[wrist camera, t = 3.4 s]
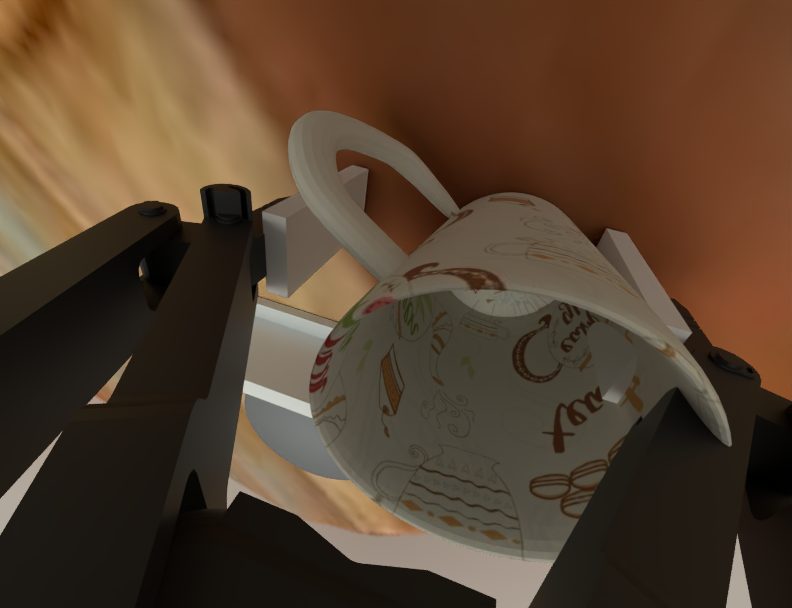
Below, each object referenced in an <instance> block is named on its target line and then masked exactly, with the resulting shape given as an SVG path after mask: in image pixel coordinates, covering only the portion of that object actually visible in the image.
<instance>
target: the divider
mask: <svg viewBox="0 0 792 608" xmlns="http://www.w3.org/2000/svg"><path fill="white" fill-rule="evenodd" d="M337 323H338V322H335V321H332V320H329V319H326V318H322V317H319V316H316V315H313V314H310V313H307V312H304V311H301V310H298V309H295V308H292V307H288V306H285V305H282V304H279V303H276V302H273V301H270V300H267V299H264V298H261V297H258V299H257V305H256V312H255V318H254V324H253V330H252V336H251V342H250V349H249V355H248V361H247V367H246V373H245V380H244V386H243V393H246V394H249V395H251V396H254V397H257V398H259V399H262V400H265V401H267V402H270V403H273V404H275V405H278V406H281V407H283V408H286V409H289V410H291V411H294V412H297V413H299V414H302V415H305V416H307V417H310V418H313V417H312V414H311V409H310V402H309V384H310V376H311V372H312V369H313V365H314V362H315V360H316V357H317V354H318V352H319V350H320V348H321V346H322V344H323V343H324V341H325V340H326V338H327V336H328V335H329V334H330V332H331V331H332V330H333V328H334V327H335V326H336V325H337Z"/></svg>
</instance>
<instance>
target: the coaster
mask: <svg viewBox="0 0 792 608" xmlns="http://www.w3.org/2000/svg"><path fill="white" fill-rule="evenodd" d="M245 410H246V414H247V417H248V419H249V421H250V423H251V425H252V427H253V428H254V430H255V431H256V433H257V434H258V435H259V437H260V438H261V439H262V440H263V441H264V442H265V443H266V444H267V445H268V446H269V447H270V448H271V449H272V450H273V451H274V452H276V453H277V454H278V455H279V456H281V457H282V458H284V459H285V460H287V461H288V462H290V463H292V464H293V465H295V466H297V467H299V468H301V469H303V470H305V471H307V472H310V473H313V474H315V475H318V476H322V477H326V478H331V479H338V480H349V479H348V478H347V477H346V475H345V474H344V473H343V472H342V471H341V470H340V469H339V467H338V466H337V465H336V463H335V462H334V461H333V459H332V458H331V456H330V455H329V453H328V452H327V450H326V448H325V446H324V445H323V443H322V441H321V439H320V437H319V435H318V432H317V430H316V427H315V424H314V421H313V418H310V417H307V416H305V415H302V414H299V413H297V412H294V411H291V410H289V409H286V408H283V407H281V406H278V405H275V404H273V403H270V402H267V401H265V400H262V399H259V398H257V397H254V396H251V395H249V394H246V395H245Z"/></svg>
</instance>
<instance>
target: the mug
mask: <svg viewBox="0 0 792 608" xmlns="http://www.w3.org/2000/svg"><path fill="white" fill-rule="evenodd" d="M339 150H351V151H355V152H359V153H362V154H365V155H367V156H370V157H373V158H375V159H378V160H380V161H382V162H385V163H387V164H388V165H390V166H391V167H393V168H394V169H395V170H396V171H397V172H399V173H400V174H401V175H402V176H403V177H405V178H406V179H407V180H408V181H409V182H410V183H412V184H413V185H414V186H415V187H416V188H417V189H418V190H419V191H420V192H421V193H422V194H423V195H424V196H425V197H426V198H427V199H428V200H429V201H430V202H431V203H432V204H433V205H434V206H435V207H436V208H437V209H439V210H440V211H441V212H442V213H443V214H444V215H445V216H447V217H448V218H449V219H448V220H447V221H446V222H445V223H444V224H443V225H442V226H441V227H440V228H439V229H437V230H436V231H435V232H434V233H433V234H432V235H431V236H430V237H429V238H428V239H426V240H425V241H424V242H423V243H422V244H421V245H420V246H419V247H418V248H417V249H415V250H414V251H413V252H412V253H411V254H410V255H409V256H408V255H407V254H406V253H405V252H404V251H403V250H402V249H401V248H400V247H399V246H398V245H397V244H396V243H395V242H394V241H393V240H392V239H391V238H390V237H389V236H388V235H387V234H386V233H385V232H384V231H383V230H381V229H380V228H379V227H378V226H377V225H376V224H375V223H374V222H373V221H372V220H371V219H370V218H369V217H368V216H367V215H366V213H365V212H364V211H363V210H362V209H361V208H360V207H359V206H358V205H357V203H356V202H355V201H354V200H353V199H352V198H351V196H350V195H349V193H348V192H347V190H346V189H345V187H344V185H343V183H342V180H341V178H340V176H339V173H338V170H337V165H336V153H337V152H338V151H339ZM288 157H289V164H290V168H291V172H292V175H293V178H294V181H295V184H296V186H297V188H298V190H299V192H300V194H301V197H302V198H303V200H304V201H305V203H306V204H307V206H308V208H309V209H310V210H311V211H312V212H313V214H314V215H315V216H316V217H317V218H318V220H319V221H320V222H321V223H322V224H323V225H324V227H325V228H326V229H327V230H328V231H329V232H330V233H331V234H332V235H333V236H334V237H335V238H336V239H337V240H338V241H339V242H340V243H341V245H342V246H343V247H344V248H345V249H346V250H347V251H348V252H349V253H350V254H351V255H352V256H353V257H354V258H355V259H356V260H357V261H358V262H359V263H360V264H361V265H362V266H363V267H364V268H366V269H367V270H368V271H369V272H370V273H371V274H372V275H373V276H374V277H375V278H376V279H377V280H378V281H379V282H378V283H377V284H376V285H375V286H374V287H373V288H372V289H371V290H370V291H369V292H368V293H367V294H366V295H365V296H364V297H363V298H361V299H360V300H359V301H358V302H357V303H356V304H355V305H354V306H353V307H352V308H351V309H350V310H349V311H348V312H347V313H346V314H345V315H344V316H343V318H342V319H341V320H340V321H339V322H338V323H337V325H336V326H335V327H334V328H333V330H332V331H331V332H330V334H329V335H328V336H327V338H326V340H325V341H324V343H323V344H322V346H321V348H320V350H319V352H318V354H317V357H316V360H315V362H314V365H313V369H312V372H311V376H310V384H309V402H310V409H311V414H312V417H313V421H314V424H315V427H316V430H317V432H318V435H319V437H320V439H321V441H322V443H323V445H324V446H325V448H326V450H327V452H328V453H329V455H330V456H331V458H332V459H333V461H334V462H335V463H336V465H337V466H338V467H339V469H340V470H341V471H342V472H343V473H344V474H345V475H346V477H347V478H348V479H349V480H350V481H351V482H352V483H353V484H354V485H355V486H356V487H357V488H358V489H360V490H361V491H362V492H363V493H364V494H365V495H367V496H368V497H369V498H370V499H371V500H373V501H374V502H375V503H377V504H378V505H379V506H381V507H382V508H384V509H385V510H387V511H388V512H390V513H391V514H393V515H394V516H396V517H398V518H399V519H401V520H403V521H404V522H406V523H408V524H410V525H412V526H414V527H416V528H417V529H419V530H422V531H424V532H426V533H428V534H430V535H432V536H435V537H437V538H440V539H442V540H445V541H447V542H450V543H453V544H456V545H458V546H461V547H465V548H468V549H471V550H474V551H478V552H482V553H486V554H490V555H494V556H499V557H504V558H509V559H515V560H523V561H530V562H542V563H554V562H555V560H556V559H557V557H558V555H559V553H560V551H561V550H562V548H563V546H564V544H565V543H566V541H567V539H568V537H569V536H570V534H571V532H572V530H573V529H574V527H575V525H576V523H577V522H578V520H579V518H580V516H581V515H582V513H583V511H584V509H585V508H586V506H587V504H588V502H589V501H590V499H591V497H592V495H593V494H594V492H595V490H596V488H597V486H598V485H599V483H600V481H601V479H602V478H603V476H604V474H605V472H606V471H607V469H608V467H609V465H610V464H611V462H612V460H613V458H614V457H615V455H616V453H617V451H618V450H619V448H620V446H621V444H622V443H623V441H624V439H625V437H626V436H627V434H628V432H629V430H630V429H631V427H632V425H633V424H634V423H635V422H636V421H637V420H638V419H639V417H640V416H641V417H642V419H644V417H645V416H646V415H647V414H648V413H649V412H650V411H651V409H652V408H653V407H654V406H655V405H656V404H657V403H658V401H659V400H660V399H661V398H662V397H663V396H664V394H665V393H666V392H667V391H669V390H671V389H672V388H674V387H678V389H679V390H680V391H681V393H682V394H683V396H684V397H685V398H686V400H687V401H688V403H689V404H690V406H691V407H692V408H693V410H694V411H695V412H696V414H697V415H698V416H699V418H700V419H701V420H702V421H703V423H704V424H705V425H706V426H707V427H708V428H709V430H710V431H711V432H712V433H713V434H714V435H715V436H716V437H717V438H718V439H719V440H720V441H721V442H722V443H724V444H726V445H727V446H731V445H732V442H731V433H730V429H729V425H728V421H727V417H726V414H725V411H724V409H723V406H722V404H721V401H720V399H719V396H718V395H717V393H716V391H715V390H714V388H713V386H712V384H711V383H710V381H709V379H708V378H707V376H706V374H705V373H704V371H703V370H702V368H701V367H700V366H699V364H698V363H697V362H696V360H695V359H694V358H693V356H692V355H691V354H690V353H689V351H688V350H687V349H686V347H685V346H684V345H683V344H682V342H681V341H680V340H679V339H678V337H677V336H676V335H675V334H674V333H673V332H672V331H671V330H670V329H669V328H668V326H667V325H666V324H665V323H664V322H663V321H662V320H661V319H660V318H659V317H658V315H657V314H656V313H655V312H654V311H653V310H652V309H651V308H650V307H649V306H648V304H647V303H646V302H645V301H644V300H643V299H642V298H641V297H640V296H639V295H638V293H637V292H636V291H635V290H634V289H633V288H632V287H631V286H630V285H629V283H628V282H627V281H626V280H625V279H624V278H623V277H622V276H621V275H620V274H619V272H618V271H617V270H616V269H615V268H614V267H613V266H612V265H611V264H610V263H609V261H608V260H607V259H606V258H605V257H604V256H603V255H602V254H601V253H600V252H599V250H598V249H597V248H596V247H595V246H594V245H593V244H592V243H591V242H590V241H589V239H588V238H587V237H586V236H585V235H584V234H583V233H582V232H581V231H580V230H579V228H578V227H577V226H576V225H575V224H574V223H573V222H572V221H571V220H570V219H569V218H568V217H567V216H566V215H565V214H564V213H563V212H562V211H561V210H560V209H559V208H557V207H556V206H554V205H553V204H551V203H549V202H548V201H546V200H544V199H541V198H539V197H536V196H533V195H529V194H524V193H515V192H507V193H497V194H492V195H488V196H485V197H482V198H479V199H477V200H475V201H473V202H471V203H469V204H468V205H466V206H464V207H463V208H462V209H460V210H459V208H458V206H457V205H456V203H455V202H454V200H453V199H452V198H451V196H450V195H449V194H448V192H447V191H446V190H445V188H444V187H443V186H442V185H441V184H440V182H439V181H438V180H437V179H436V177H435V176H434V175H433V174H432V172H431V171H430V170H429V169H428V168H427V166H426V165H425V164H424V163H423V162H422V161H421V159H420V158H419V157H418V156H417V155H416V154H415V153H414V152H413V151H412V150H410V149H409V148H408V147H406V146H405V145H403V144H402V143H400V142H399V141H397V140H395V139H393V138H392V137H390V136H388V135H387V134H385V133H383V132H381V131H379V130H377V129H375V128H374V127H372V126H370V125H367V124H365V123H363V122H361V121H359V120H356V119H354V118H352V117H349V116H346V115H344V114H340V113H337V112H332V111H322V110H321V111H311V112H308V113H306V114H304V115H303V116H302V117H300V118H299V119H298V120H296V122H295V123H294V125H293V126H292V128H291V132H290V136H289V140H288ZM595 322H603V323H606V324H608V325H609V326H611V327H613V328H614V329H616V330H617V331H618V332H619V333H620V334H622V335H623V336H624V337H625V338H626V339H627V340H628V341H629V342H630V343H631V344H632V345H633V346H634V347H635V348H636V349H637V350H638V358H637V365H636V369H635V373H634V376H633V379H632V381H631V383H630V385H629V387H628V389H627V391H626V392H625V394H624V395H623V397H622V398H621V399H620V400H619V402H618V403H614V402H610V401H607V400H604V399H602V396H601V392H600V388H599V384H598V380H597V376H596V371H595V367H594V363H593V359H592V355H591V351H590V347H589V342H588V338H587V331H588V329H589V327H590V326H591V325H592V324H593V323H595Z"/></svg>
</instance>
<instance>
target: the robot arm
mask: <svg viewBox="0 0 792 608" xmlns="http://www.w3.org/2000/svg"><path fill="white" fill-rule="evenodd" d="M368 171H369V169H366V168H362V167H358V166H354V165H351V166H349V167H347V168H345V169H343V170H342V171H340V172H338V173H339V176H340V178H341V180H342V183H343V185H344V187H345V189H346V190H347V192H348V193H349V195H350V196H351V198H352V199H353V200H354V201H355V202H356V203H357V205H358V206H359V207H360V208H361V209H362V210H363V211H364V207H365V198H366V189H367V180H368ZM200 194H201V200H202V206H203V213H204V219H203V221H202V223H201V224H200V223H192V222H184V221H181V218H180V213H179V209H178V207H176V206H175V205H173V204H169V203H163V202H159V201H145V202H143V203H139V204H135V205H132V206H130V207H128V208H126V209H124V210H122V211H120V212H118V213H117V214H115V215H113V216H111V217H109V218H107V219H106V220H104V221H102V222H100V223H98V224H96V225H95V226H93V227H91V228H89V229H87V230H85V231H84V232H82V233H80V234H78V235H76V236H74V237H73V238H71V239H69V240H67V241H65V242H63V243H62V244H60V245H58V246H56V247H54V248H52V249H51V250H49V251H47V252H45V253H43V254H41V255H40V256H38V257H36V258H34V259H32V260H30V261H29V262H27V263H25V264H23V265H21V266H19V267H18V268H16V269H14V270H12V271H10V272H8V273H7V274H5V275H3V276H1V277H0V498H1V497H2V496H3V495H4V494H5V493H6V492H7V491H8V490H9V488H10V487H11V486H12V485H13V484H14V483H15V482H16V481H17V480H18V478H20V477H21V475H22V474H23V473H24V472H25V471H26V470H27V469H28V468H29V467H30V466H31V465H32V463H33V462H34V461H35V460H36V459H37V458H38V457H39V456H40V455H41V454H42V453H43V451H44V450H45V449H46V448H47V447H48V446H49V445H50V444H51V443H52V442H53V441H54V440H55V438H56V437H57V436H58V435H59V434H60V433H61V432H62V431H63V432H62V433H61V435H60V437H59V438H58V440H57V442H56V443H55V445H54V447H53V448H52V450H51V452H50V453H49V455H48V457H47V458H46V460H45V462H44V463H43V465H42V467H41V468H40V470H39V472H38V473H37V475H36V477H35V478H34V480H33V482H32V484H31V485H30V487H29V488H28V490H27V492H26V493H25V495H24V497H23V499H22V500H21V502H20V504H19V505H18V507H17V509H16V510H15V512H14V513H13V515H12V517H11V518H10V520H9V522H8V523H7V525H6V527H5V529H4V530H3V532H2V533H1V535H0V608H496V599H494V598H492V597H490V596H487V595H485V594H483V593H480V592H478V591H476V590H473V589H471V588H468V587H466V586H464V585H461V584H459V583H457V582H454V581H452V580H449V579H447V578H445V577H442V576H440V575H437V574H435V573H432V572H430V571H428V570H419V569H409V568H400V567H391V566H381V565H371V564H362V563H357V562H354V561H352V560H350V559H349V558H347V557H346V556H345V555H344V554H342V553H341V552H340V551H339V550H338V549H336V548H335V547H334V546H333V545H332V544H331V543H329V542H328V541H327V540H326V539H324V538H323V537H322V536H321V535H320V534H319V533H318V532H316V531H315V530H314V529H313V528H312V527H310V526H309V525H308V524H307V523H306V522H304V521H303V520H302V519H301V518H300V517H299V516H297V515H295V514H293V513H290V512H288V511H286V510H283V509H281V508H279V507H276V506H274V505H271V504H269V503H267V502H264V501H262V500H259V499H257V498H255V497H252V496H250V495H248V494H245V493H243V492H241V491H240V492H239V493H238V495H237V496H236V497H235V499H234V500H233V502H232V503H231V505H230V506H229V508H228V509H227V485H228V479H229V472H230V466H231V460H232V454H233V448H234V441H235V435H236V429H237V423H238V417H239V411H240V404H241V398H242V392H243V386H244V380H245V373H246V367H247V361H248V355H249V349H250V342H251V336H252V330H253V324H254V318H255V312H256V305H257V299H258V282H259V281H260V280H261V279H263V278H264V277H265V276H266V287H267V292H270V293H273V294H276V295H279V296H282V297H285V298H289V297H290V296H291V295H292V294H293V293H294V292H295V291H296V290H297V289H298V288H299V287H300V286H301V285H302V284H303V283H305V282H306V281H307V280H308V279H309V278H310V277H311V276H312V275H313V274H314V273H315V272H316V271H317V270H318V269H319V268H321V267H322V266H323V265H324V264H325V263H326V262H327V261H328V260H329V259H330V258H331V257H332V256H333V255H334V254H335V253H337V252H338V251H339V250H340V249H341V248H342V247H343V246H342V245H341V243H340V242H339V241H338V240H337V239H336V238H335V237H334V236H333V235H332V234H331V233H330V232H329V231H328V230H327V229H326V228H325V227H324V225H323V224H322V223H321V222H320V221H319V220H318V218H317V217H316V216H315V215H314V214H313V212H312V211H311V210H310V209H309V208H308V206H307V204H306V203H305V201H304V200H303V198H302V197H301V194H300V192H299V193H297V194H295V195H293V196H289V197H284V198H279V199H276V200H274V201H272V202H270V203H269V204H266V205H264V206H262V208H261V207H260V208H258V209H256V210H254V211H252V202H251V192H250V190H248V189H247V188H245V187H242V186H239V185H232V184H214V185H208V186H205V187H203V188H202V189H200ZM596 248H597V249H598V250H599V252H600V253H601V254H602V255H603V256H604V257H605V258H606V259H607V260H608V261H609V263H610V264H611V265H612V266H613V267H614V268H615V269H616V270H617V271H618V272H619V274H620V275H621V276H622V277H623V278H624V279H625V280H626V281H627V282H628V283H629V285H630V286H631V287H632V288H633V289H634V290H635V291H636V292H637V293H638V295H639V296H640V297H641V298H642V299H643V300H644V301H645V302H646V303H647V304H648V306H649V307H650V308H651V309H652V310H653V311H654V312H655V313H656V314H657V315H658V317H659V318H660V319H661V320H662V321H663V322H664V323H665V324H666V325H667V326H668V328H669V329H670V330H671V331H672V332H673V333H674V334H675V335H676V336H677V337H678V339H679V340H680V341H681V342H682V344H683V345H684V346H685V347H686V349H687V350H688V351H689V353H690V354H691V355H692V356H693V358H694V359H695V360H696V362H697V363H698V364H699V366H700V367H701V368H702V370H703V371H704V373H705V374H706V376H707V378H708V379H709V381H710V383H711V384H712V386H713V388H714V390H715V391H716V393H717V395H718V396H719V399H720V401H721V404H722V406H723V409H724V411H725V414H726V417H727V421H728V425H729V429H730V433H731V442H732V445H731V446H727V445H726V444H724V443H722V442H721V441H720V440H719V439H718V438H717V437H716V436H715V435H714V434H713V433H712V432H711V431H710V430H709V428H708V427H707V426H706V425H705V424H704V423H703V421H702V420H701V419H700V418H699V416H698V415H697V414H696V412H695V411H694V410H693V408H692V407H691V406H690V404H689V403H688V401H687V400H686V398H685V397H684V396H683V394H682V393H681V391H680V390H679V389H678V387H674V388H672V389H671V390H669V391H667V392H666V393H665V394H664V396H663V397H662V398H661V399H660V400H659V401H658V403H657V404H656V405H655V406H654V407H653V408H652V409H651V411H650V412H649V413H648V414H647V415H646V416H645V417H644V419H642V417H641V416H640V417H639V419H638V420H637V421H636V422H635V423H634V424H633V425H632V427H631V429H630V430H629V432H628V434H627V436H626V437H625V439H624V441H623V443H622V444H621V446H620V448H619V450H618V451H617V453H616V455H615V457H614V458H613V460H612V462H611V464H610V465H609V467H608V469H607V471H606V472H605V474H604V476H603V478H602V479H601V481H600V483H599V485H598V486H597V488H596V490H595V492H594V494H593V495H592V497H591V499H590V501H589V502H588V504H587V506H586V508H585V509H584V511H583V513H582V515H581V516H580V518H579V520H578V522H577V523H576V525H575V527H574V529H573V530H572V532H571V534H570V536H569V537H568V539H567V541H566V543H565V544H564V546H563V548H562V550H561V551H560V553H559V555H558V557H557V559H556V560H555V562H554V564H553V566H552V567H551V569H550V571H549V573H548V574H547V576H546V578H545V580H544V582H543V583H542V585H541V587H540V588H539V590H538V592H537V594H536V595H535V597H534V599H533V601H532V603H531V604H530V606H529V608H726V603H727V595H728V590H729V584H730V577H731V571H732V564H733V558H734V551H735V545H736V539H737V533H738V539H739V544H740V549H741V554H742V559H743V564H744V569H745V574H746V579H747V585H748V589H749V595H750V600H751V604H752V608H792V401H790V400H788V399H785V398H783V397H781V396H779V395H776V394H774V393H772V392H770V391H768V390H765V389H763V388H761V387H760V385H761V378H760V375H759V374H758V372H757V371H756V370H755V369H754V368H753V367H752V366H751V365H749V364H748V363H747V362H745V361H744V360H743V359H741V358H739V357H738V356H736V355H735V354H732V353H730V352H728V351H726V350H723V349H721V348H718V347H714V346H712V344H711V343H710V341H709V340H708V338H707V337H706V336H705V334H704V333H703V331H702V330H701V329H699V328H700V327H699V326H698V324H697V323H696V321H694V318H693V317H692V316H691V314H690V313H689V311H688V310H687V309H686V308H685V307H684V306H682V305H681V304H680V303H679V302H677V301H676V300H675V299H672V298H669V297H668V295H667V293H666V292H665V290H664V289H663V287H662V286H661V284H660V283H659V281H658V280H657V278H656V277H655V275H654V274H653V272H652V271H651V269H650V268H649V266H648V265H647V263H646V262H645V260H644V258H643V257H642V255H641V254H640V252H639V251H638V249H637V248H636V246H635V245H634V243H633V242H632V240H631V239H630V237H629V236H628V234H627V233H624V232H620V231H616V230H612V229H608V228H606V230H605V232H604V234H603V236H602V237H601V239H600V241H599V243H598V245H597V247H596ZM139 266H141V270H142V273H143V275H142V276H140V277H139ZM587 338H588V342H589V347H590V351H591V355H592V359H593V363H594V367H595V371H596V376H597V380H598V384H599V388H600V392H601V396H602V399H604V400H607V401H610V402H614V403H618V402H619V400H620V399H621V398H622V397H623V395H624V394H625V392H626V391H627V389H628V387H629V385H630V383H631V381H632V379H633V376H634V373H635V369H636V365H637V358H638V350H637V349H636V348H635V347H634V346H633V345H632V344H631V343H630V342H629V341H628V340H627V339H626V338H625V337H624V336H623V335H622V334H620V333H619V332H618V331H617V330H616V329H614V328H613V327H611V326H609V325H608V324H606V323H603V322H595V323H593V324H592V325H591V326H590V327H589V329H588V331H587ZM131 356H132V357H131ZM130 357H131V359H130V361H129V363H128V365H127V367H126V369H125V371H124V372H123V374H122V376H121V378H120V380H119V382H118V384H117V386H116V388H115V390H114V392H113V394H112V395H111V397H110V399H109V400H108V402H107V403H103V404H88V402H89V401H90V400H91V399H92V398H93V397H94V396H95V395H96V394H97V393H98V392H99V390H100V389H101V388H102V387H103V386H104V385H105V384H106V383H107V382H108V381H109V380H110V379H111V377H112V376H113V375H114V374H115V373H116V372H117V371H118V370H119V369H120V368H121V367H122V365H123V364H124V363H125V362H126V361H127V360H128V359H129V358H130ZM87 404H88V405H87Z"/></svg>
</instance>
